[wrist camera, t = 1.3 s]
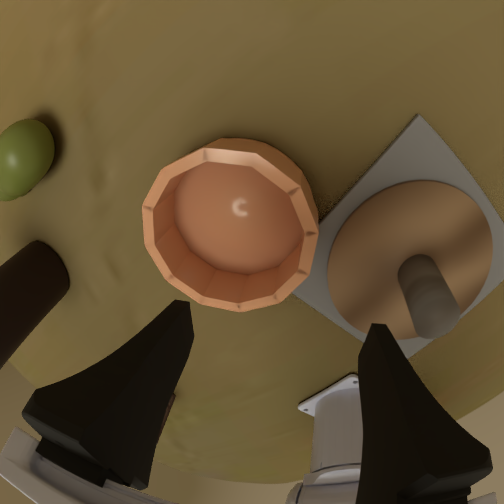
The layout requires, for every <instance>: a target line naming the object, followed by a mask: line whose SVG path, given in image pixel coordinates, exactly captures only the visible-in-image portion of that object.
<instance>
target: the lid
mask: <svg viewBox="0 0 504 504" xmlns="http://www.w3.org/2000/svg"><path fill="white" fill-rule="evenodd" d="M492 256H493V241H492V234H491V230H490V226H489V224H488V221H487V219H486V217H485V215H484V213H483V212H482V210H481V209H480V207H479V206H478V205H477V204H476V203H475V201H473V200H472V199H471V198H470V197H469V196H468V195H466V194H465V193H464V192H463V191H461V190H459V189H458V188H456V187H454V186H452V185H449V184H447V183H444V182H439V181H435V180H411V181H406V182H401V183H397V184H395V185H392V186H389V187H387V188H384V189H383V190H381V191H379V192H377V193H375V194H373V195H372V196H371V197H369V198H368V199H366V200H365V201H364V202H362V203H361V204H360V205H359V206H358V207H357V208H356V209H355V210H354V211H353V212H352V213H351V214H350V215H349V217H348V218H347V219H346V220H345V222H344V223H343V225H342V226H341V228H340V229H339V231H338V233H337V235H336V237H335V239H334V241H333V244H332V247H331V250H330V253H329V259H328V265H327V279H328V288H329V292H330V296H331V299H332V301H333V303H334V306H335V307H336V309H337V311H338V312H339V314H340V315H341V316H342V317H343V318H344V319H345V320H346V321H347V322H348V323H349V324H350V325H351V326H353V327H354V328H356V329H357V330H359V331H361V332H363V333H365V334H368V331H369V329H370V326H371V324H372V323H378V324H386V325H387V326H388V328H389V330H390V331H391V333H392V335H393V336H394V338H395V340H403V339H411V338H416V337H422V338H425V339H435V338H439V337H441V336H443V335H445V334H447V333H448V332H450V331H451V330H452V329H453V328H454V327H455V326H456V324H457V323H458V321H459V318H460V315H461V314H462V313H463V312H464V311H465V310H466V309H467V308H468V307H469V306H470V305H471V304H472V303H473V301H474V300H475V299H476V297H477V296H478V295H479V293H480V291H481V289H482V288H483V286H484V284H485V282H486V279H487V277H488V274H489V271H490V267H491V262H492Z"/></svg>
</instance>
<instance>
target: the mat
mask: <svg viewBox="0 0 504 504" xmlns="http://www.w3.org/2000/svg"><path fill="white" fill-rule="evenodd" d="M411 180H435V181H439V182H444V183H447V184H449V185H452V186H454V187H456V188H458V189H459V190H461V191H463V192H464V193H465V194H466V195H468V196H469V197H470V198H471V199H472V200H473V201H475V203H476V204H477V205H478V206H479V207H480V209H481V210H482V212H483V213H484V215H485V217H486V219H487V221H488V224H489V226H490V230H491V234H492V241H493V256H492V262H491V267H490V271H489V274H488V277H487V279H486V282H485V284H484V286H483V288H482V289H481V291H480V293H479V295H478V296H477V297H476V299H475V300H474V301H473V303H472V304H471V305H470V306H469V307H468V308H467V309H466V310H465V311H464V312H463V313H462V314H461V315H460V318H459V319H461V318H462V317H463V316H464V315H465V314H467V313H468V312H469V311H470V310H471V309H472V308H474V307H475V306H476V305H477V304H478V303H479V302H480V301H481V300H483V299H484V298H485V297H486V296H487V295H488V294H489V293H490V292H491V291H492V290H493V289H494V288H495V287H496V286H498V285H499V284H500V283H501V282H502V281H503V280H504V223H503V221H502V220H501V218H500V217H499V215H498V213H497V212H496V210H495V209H494V207H493V206H492V204H491V203H490V201H489V200H488V198H487V197H486V195H485V194H484V192H483V191H482V189H481V188H480V187H479V185H478V184H477V183H476V181H475V180H474V178H473V177H472V176H471V174H470V173H469V172H468V170H467V169H466V168H465V167H464V165H463V164H462V163H461V161H460V160H459V159H458V158H457V156H456V155H455V154H454V153H453V152H452V150H451V149H450V148H449V147H448V146H447V144H446V143H445V142H444V141H443V140H442V139H441V137H440V136H439V135H438V134H437V133H436V132H435V131H434V130H433V128H432V127H431V126H430V125H429V124H428V123H427V122H426V121H425V120H424V119H423V118H422V117H421V116H420V115H419V114H417V115H416V116H415V117H414V118H413V119H412V121H411V122H410V123H409V124H408V125H407V126H406V127H405V129H404V130H403V131H402V132H401V133H400V134H399V135H398V137H397V138H396V139H395V140H394V141H393V142H392V143H391V144H390V146H389V147H388V148H387V149H386V150H385V151H384V152H383V153H382V155H381V156H380V157H379V158H378V159H377V160H376V161H375V162H374V163H373V165H372V166H371V167H370V168H369V169H368V170H367V171H366V172H365V173H364V175H363V176H362V177H361V178H360V179H359V180H358V181H357V182H356V183H355V184H354V186H353V187H352V188H351V189H350V190H349V191H348V192H347V193H346V194H345V195H344V196H343V198H342V199H341V200H340V201H339V202H338V203H337V204H336V205H335V206H334V207H333V208H332V209H331V211H330V212H329V213H328V214H327V215H326V216H325V217H324V218H323V219H322V220H321V221H320V222H319V223H318V224H319V234H318V239H317V244H316V248H315V253H314V257H313V262H312V266H311V270H310V274H309V276H308V277H307V278H306V279H305V280H304V281H303V282H302V283H301V284H300V285H299V286H298V287H296V288H295V289H294V290H293V291H292V292H291V293H293V294H294V295H296V296H297V297H298V298H300V299H301V300H303V301H304V302H306V303H307V304H308V305H310V306H311V307H313V308H314V309H316V310H317V311H318V312H320V313H321V314H323V315H324V316H326V317H327V318H329V319H330V320H331V321H333V322H334V323H336V324H337V325H339V326H340V327H341V328H343V329H344V330H346V331H347V332H349V333H350V334H352V335H353V336H354V337H356V338H357V339H359V340H360V341H362V342H363V343H364V341H365V339H366V336H367V334H365V333H363V332H361V331H359V330H357V329H356V328H354V327H353V326H351V325H350V324H349V323H348V322H347V321H346V320H345V319H344V318H343V317H342V316H341V315H340V314H339V312H338V311H337V309H336V307H335V306H334V303H333V301H332V299H331V296H330V292H329V288H328V279H327V265H328V259H329V253H330V250H331V247H332V244H333V241H334V239H335V237H336V235H337V233H338V231H339V229H340V228H341V226H342V225H343V223H344V222H345V220H346V219H347V218H348V217H349V215H350V214H351V213H352V212H353V211H354V210H355V209H356V208H357V207H358V206H359V205H360V204H361V203H362V202H364V201H365V200H366V199H368V198H369V197H371V196H372V195H373V194H375V193H377V192H379V191H381V190H383V189H384V188H387V187H389V186H392V185H395V184H397V183H401V182H406V181H411ZM435 339H436V338H435ZM433 340H434V339H425V338H422V337H416V338H411V339H403V340H396V341H397V343H398V345H399V346H400V348H401V350H402V351H403V353H404V355H405V356H406V358H407V359H408V358H409V357H411V356H412V355H414V354H415V353H417V352H418V351H419V350H421V349H422V348H423V347H425V346H426V345H428V344H429V343H430V342H432V341H433Z"/></svg>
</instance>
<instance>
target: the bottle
mask: <svg viewBox="0 0 504 504" xmlns="http://www.w3.org/2000/svg"><path fill="white" fill-rule="evenodd" d="M68 288H69V280H68V276H67V272H66V270H65V267H64V265H63V263H62V262H61V260H60V259H59V257H58V256H57V255H56V253H55V252H54V251H53V250H52V249H51V248H49V247H48V246H46V245H45V244H43V243H39V242H32V243H29V244H28V245H27V246H25V247H24V248H23V249H21V250H20V251H19V252H18V253H16V254H15V255H14V256H13V257H11V258H10V259H9V260H8V261H6V262H5V263H4V264H3V265H1V266H0V369H1V368H2V367H3V365H4V364H5V363H6V361H7V360H8V359H9V358H10V357H11V355H12V354H13V353H14V352H15V351H16V349H17V348H18V347H19V346H20V345H21V343H22V342H23V341H24V340H25V339H26V338H27V336H28V335H29V334H30V333H31V332H32V331H33V329H34V328H35V327H36V326H37V325H38V324H39V323H40V322H41V320H42V319H43V318H44V317H45V316H46V315H47V314H48V313H49V312H50V310H51V309H52V308H53V307H54V306H55V305H56V304H57V303H58V302H59V301H60V300H61V299H62V298H63V297H64V295H65V294H66V292H67V290H68Z"/></svg>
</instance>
